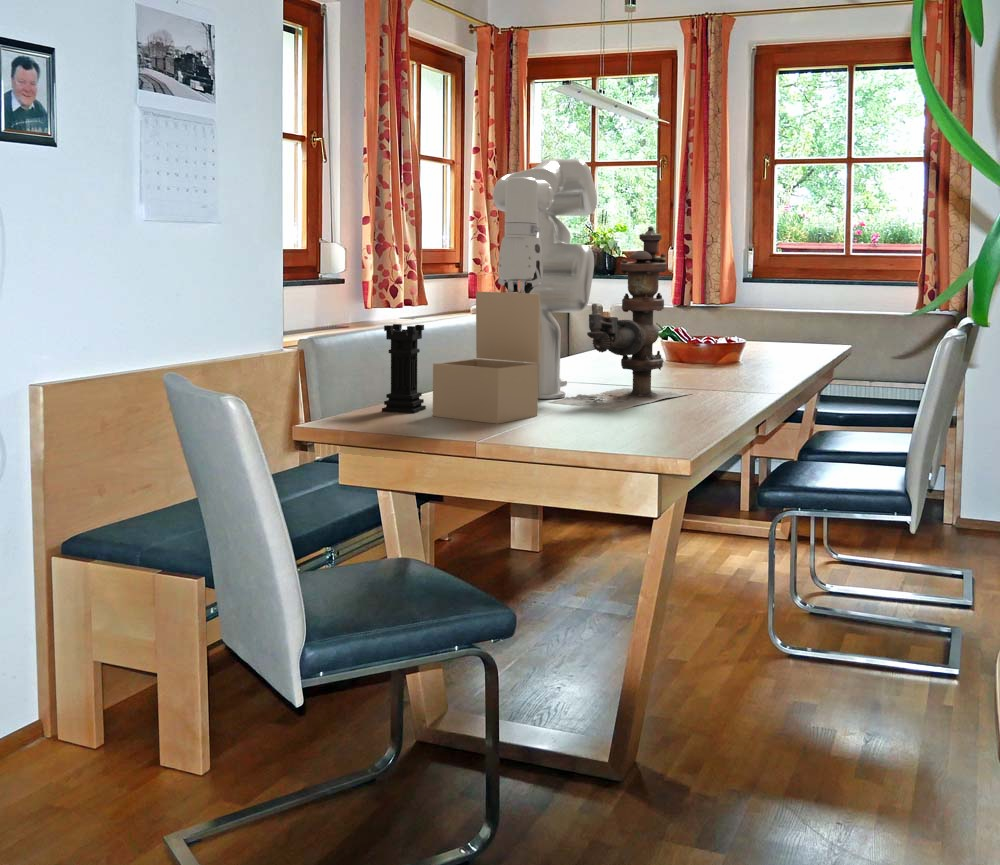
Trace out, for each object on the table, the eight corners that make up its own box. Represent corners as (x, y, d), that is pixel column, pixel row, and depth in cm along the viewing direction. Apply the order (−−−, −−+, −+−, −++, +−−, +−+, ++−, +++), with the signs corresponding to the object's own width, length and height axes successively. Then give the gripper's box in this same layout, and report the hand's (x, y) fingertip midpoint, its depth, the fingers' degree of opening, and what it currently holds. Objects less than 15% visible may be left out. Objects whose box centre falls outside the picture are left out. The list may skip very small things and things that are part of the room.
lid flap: (476, 357, 265) (487, 356, 269) (538, 362, 255) (549, 360, 259) (475, 291, 262) (487, 290, 266) (538, 294, 252) (549, 292, 256)
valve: (619, 411, 270) (629, 222, 262) (548, 402, 281) (556, 220, 273) (693, 396, 304) (704, 228, 296) (626, 388, 315) (636, 226, 308)
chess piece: (425, 409, 265) (426, 324, 262) (414, 413, 258) (414, 326, 255) (394, 407, 268) (394, 323, 264) (381, 411, 260) (381, 325, 257)
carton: (474, 408, 267) (474, 358, 265) (537, 415, 257) (538, 363, 255) (432, 416, 254) (433, 363, 252) (497, 423, 244) (498, 369, 242)
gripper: (557, 232, 258) (555, 312, 261) (502, 232, 267) (501, 309, 270) (539, 230, 252) (537, 312, 255) (484, 231, 261) (482, 310, 264)
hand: (518, 310), depth 262 cm, fingers closed
